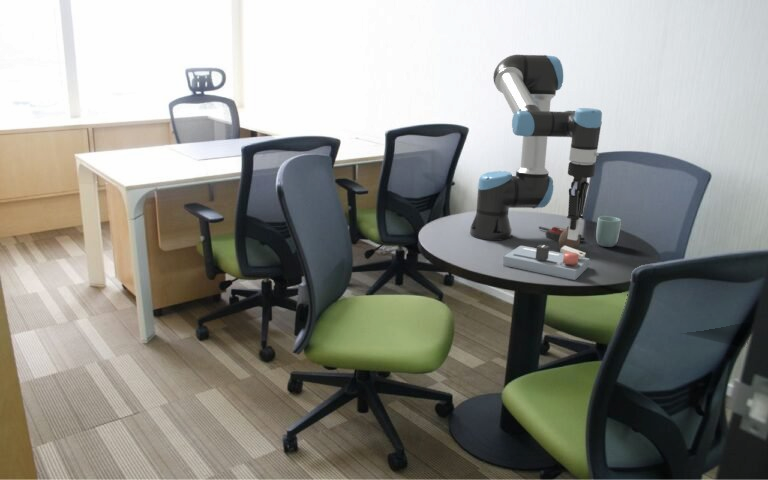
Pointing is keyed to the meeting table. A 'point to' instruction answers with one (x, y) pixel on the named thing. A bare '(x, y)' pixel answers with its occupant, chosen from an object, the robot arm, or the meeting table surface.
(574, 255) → the button
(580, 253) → the rocker
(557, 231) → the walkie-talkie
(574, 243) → the vase
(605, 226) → the cup
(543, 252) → the slider
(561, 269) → the console
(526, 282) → the meeting table surface
